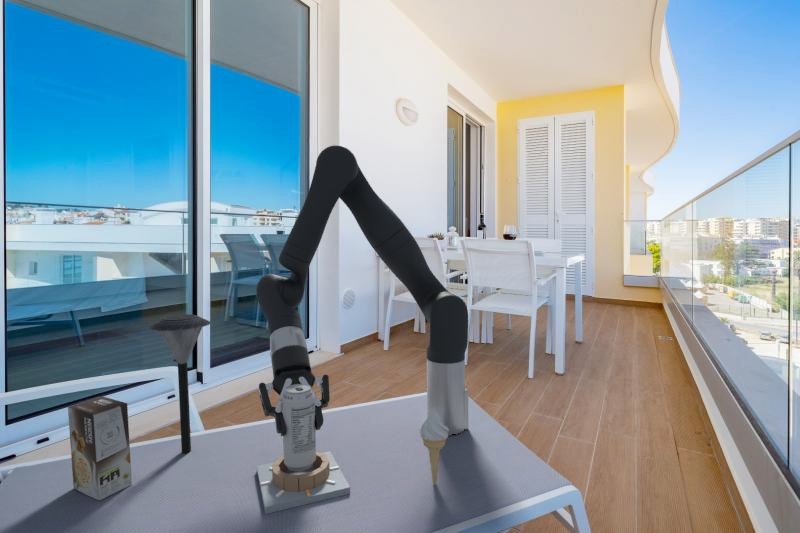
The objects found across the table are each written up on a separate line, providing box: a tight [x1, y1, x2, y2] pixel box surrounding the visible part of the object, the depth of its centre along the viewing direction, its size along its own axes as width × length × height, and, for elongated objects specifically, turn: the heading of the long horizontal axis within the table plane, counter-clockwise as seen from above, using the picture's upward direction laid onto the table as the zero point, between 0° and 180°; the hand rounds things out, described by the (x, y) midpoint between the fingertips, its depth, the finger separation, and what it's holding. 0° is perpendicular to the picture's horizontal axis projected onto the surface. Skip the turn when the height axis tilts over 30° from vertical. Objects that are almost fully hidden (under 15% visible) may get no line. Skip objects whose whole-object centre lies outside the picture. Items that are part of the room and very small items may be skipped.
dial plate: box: [256, 450, 351, 515], centre depth 86 cm, size 15×15×4 cm
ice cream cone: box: [419, 407, 449, 485], centre depth 84 cm, size 6×6×15 cm
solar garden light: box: [148, 313, 212, 454], centre depth 98 cm, size 12×12×30 cm
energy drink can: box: [282, 384, 317, 471], centre depth 85 cm, size 6×6×15 cm
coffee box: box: [67, 395, 133, 501], centre depth 85 cm, size 9×6×16 cm
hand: (301, 431), depth 84 cm, fingers closed on energy drink can, 6 cm apart
